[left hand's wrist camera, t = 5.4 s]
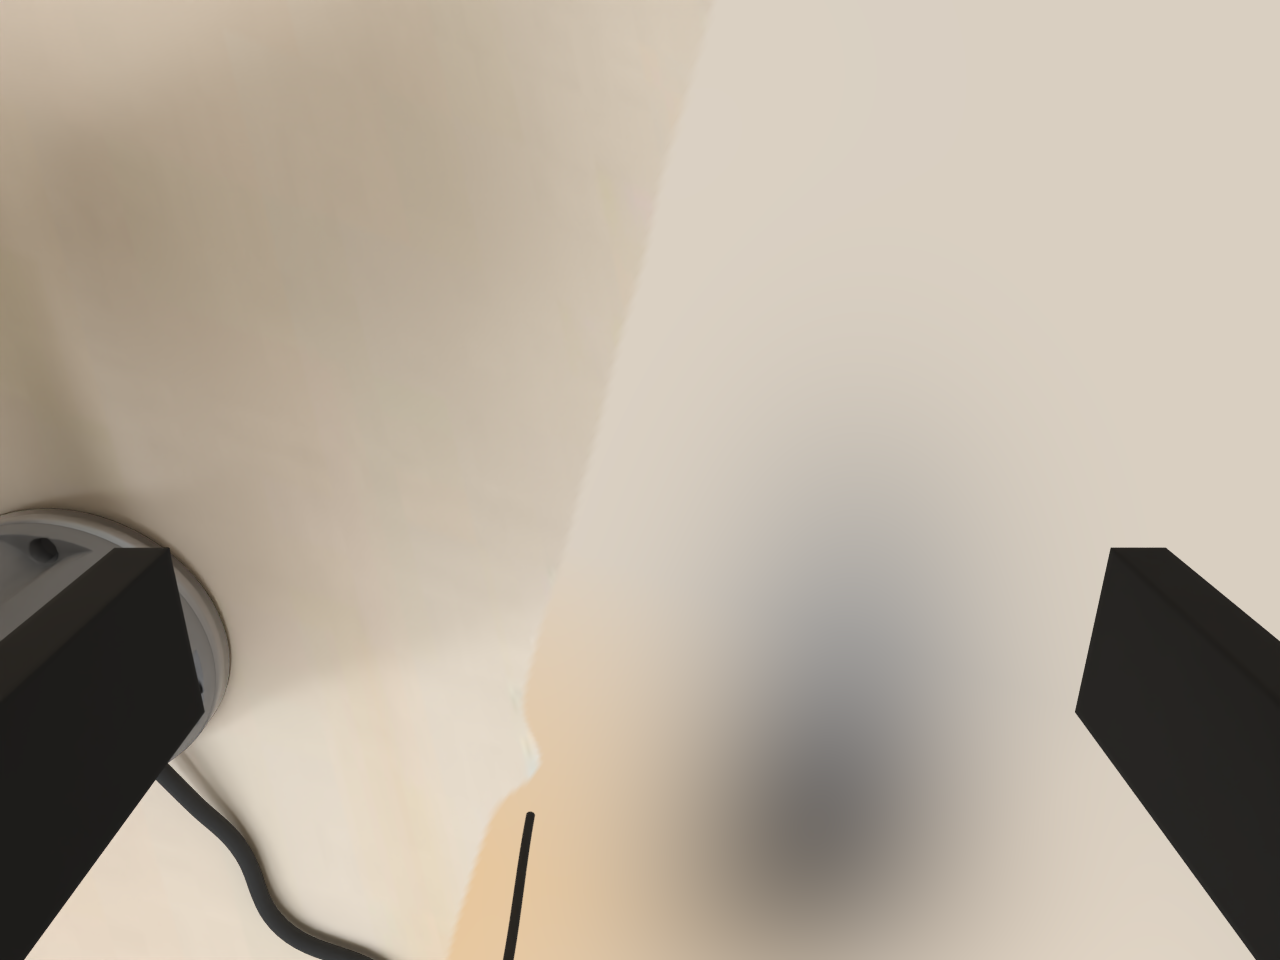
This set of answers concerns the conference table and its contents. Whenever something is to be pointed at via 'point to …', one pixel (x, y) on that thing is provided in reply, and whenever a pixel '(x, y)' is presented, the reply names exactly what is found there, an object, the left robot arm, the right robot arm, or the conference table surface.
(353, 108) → the conference table surface
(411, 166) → the conference table surface
